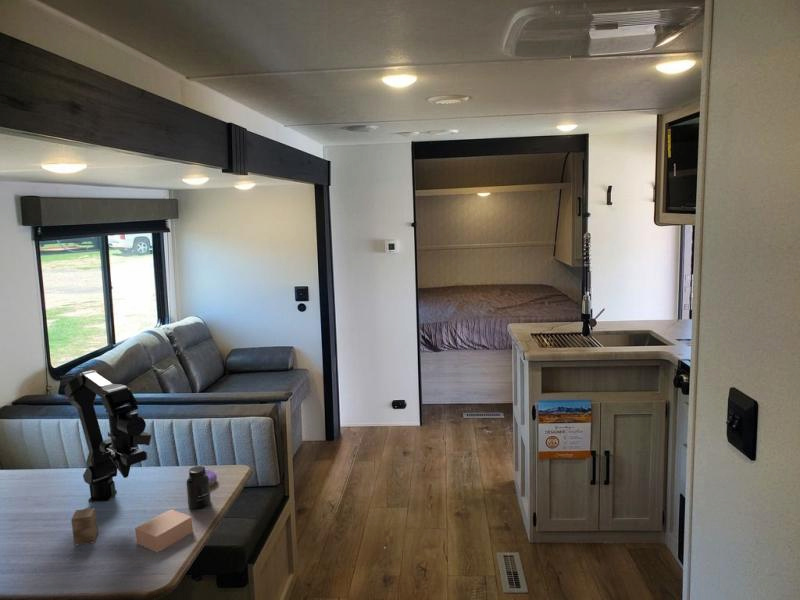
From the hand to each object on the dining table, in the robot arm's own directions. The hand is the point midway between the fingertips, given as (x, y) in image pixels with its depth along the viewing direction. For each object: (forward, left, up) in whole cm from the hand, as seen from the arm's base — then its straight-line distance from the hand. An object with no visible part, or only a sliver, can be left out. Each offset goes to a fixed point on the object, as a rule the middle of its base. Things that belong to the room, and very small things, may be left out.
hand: (125, 477), depth 188 cm
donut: (+16, +19, -12) cm, 28 cm away
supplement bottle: (+20, +5, -12) cm, 24 cm away
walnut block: (-6, -14, -12) cm, 19 cm away
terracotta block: (+13, -11, -10) cm, 20 cm away
